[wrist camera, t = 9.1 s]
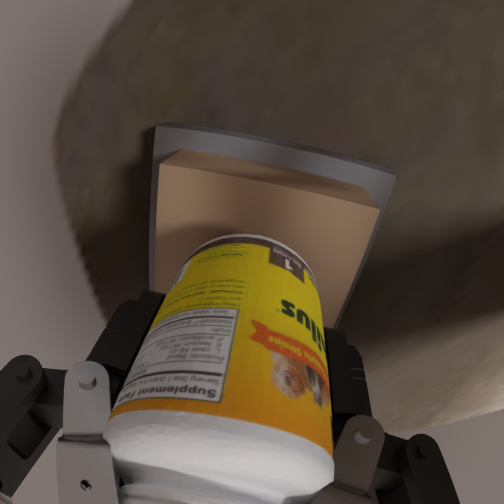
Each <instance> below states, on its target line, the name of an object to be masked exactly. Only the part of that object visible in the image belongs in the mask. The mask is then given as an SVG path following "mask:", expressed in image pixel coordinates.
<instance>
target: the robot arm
mask: <svg viewBox="0 0 504 504" xmlns="http://www.w3.org/2000/svg"><path fill="white" fill-rule="evenodd" d="M165 297H166V294H164V293H160V292H156V291H152V290H148V289H145V290H144V291H143V293H142V295H141V296H140V298H139V300H138V301H133V300H128V301H126V302H125V303H123V304H122V305H120V306H119V307H118V308H117V310H116V311H115V313H114V314H113V316H112V319H110V321H109V322H108V324H107V327H106V328H105V329H104V331H103V332H102V334H101V336H100V337H99V339H98V341H97V342H96V344H95V346H94V347H93V349H92V351H91V353H90V354H89V356H88V358H87V359H86V360H85V361H82V362H78V363H76V364H74V365H73V366H72V367H70V368H69V369H68V370H58V369H47V368H42V366H41V364H40V362H39V361H38V360H37V359H36V358H34V357H32V356H30V355H20V356H17V357H15V358H13V359H12V360H11V361H10V362H9V363H8V364H7V365H6V366H5V367H4V368H3V369H2V370H1V371H0V504H13V502H12V500H11V497H12V496H13V494H14V493H15V491H16V490H17V488H18V487H19V486H20V484H21V483H22V481H23V480H24V478H25V477H26V475H27V474H28V473H29V471H30V470H31V468H32V467H33V466H34V464H35V463H36V461H37V460H38V459H39V457H40V456H41V454H42V453H43V451H44V450H45V449H46V447H47V446H48V445H49V443H50V442H51V441H52V439H53V438H54V436H55V435H56V434H57V432H58V431H59V430H60V428H63V435H62V437H59V438H58V440H57V445H56V459H57V479H58V493H59V502H60V504H121V494H120V488H121V487H122V486H123V485H128V483H127V481H126V480H125V478H124V477H123V475H122V473H121V471H120V470H119V468H118V466H117V464H116V462H115V459H114V456H113V453H112V449H111V445H110V444H109V443H108V441H107V440H106V439H105V438H103V433H104V430H105V427H106V424H107V421H108V419H109V417H110V415H111V413H112V410H113V408H114V406H115V403H116V401H117V399H118V396H119V393H120V392H121V390H122V388H123V385H124V383H125V381H126V379H127V377H128V375H129V372H130V370H131V368H132V366H133V364H134V361H135V359H136V357H137V355H138V353H139V351H140V349H141V347H142V344H143V342H144V340H145V338H146V336H147V334H148V332H149V330H150V328H151V326H152V324H153V322H154V320H155V318H156V316H157V314H158V312H159V310H160V308H161V306H162V304H163V302H164V300H165ZM323 330H324V339H325V349H326V358H327V368H328V378H329V384H330V387H329V390H330V400H331V413H332V429H333V445H334V464H335V467H334V481H333V482H330V483H329V484H328V485H326V486H324V487H323V488H322V489H321V490H320V491H319V492H318V493H317V495H316V496H314V497H313V498H312V499H311V500H310V501H308V502H307V503H305V504H460V502H459V499H458V497H457V493H456V491H455V488H454V485H453V482H452V479H451V477H450V474H449V471H448V469H447V466H446V464H445V461H444V458H443V456H442V453H441V451H440V449H439V446H438V444H437V443H436V441H435V440H434V439H433V438H432V437H430V436H428V435H426V434H416V435H414V436H412V437H411V438H410V439H409V440H405V439H402V438H399V437H396V436H393V435H390V434H387V433H385V432H384V430H383V427H382V426H381V424H380V423H379V422H378V421H377V420H375V419H374V418H373V417H372V412H371V406H370V400H369V394H368V389H367V383H366V381H365V372H364V371H363V369H364V367H363V362H362V357H361V355H360V354H359V352H358V351H357V349H356V348H355V346H353V345H347V343H346V337H345V332H344V330H341V329H335V328H329V327H323Z"/></svg>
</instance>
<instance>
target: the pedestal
mask: <svg viewBox="0 0 504 504" xmlns="http://www.w3.org/2000/svg"><path fill="white" fill-rule="evenodd" d="M396 177H397V176H396V175H395V174H394V173H393V172H392V171H391V170H389V169H388V168H386V167H383V166H379V165H376V164H373V163H369V162H366V161H362V160H359V159H355V158H352V157H348V156H344V155H341V154H337V153H333V152H329V151H325V150H321V149H317V148H313V147H309V146H304V145H300V144H295V143H291V142H286V141H282V140H277V139H272V138H267V137H262V136H257V135H251V134H246V133H240V132H234V131H228V130H222V129H216V128H209V127H202V126H195V125H187V124H179V123H171V122H165V123H162V124H159V125H157V126H156V129H155V139H154V150H153V163H152V178H151V196H150V222H149V290H152V291H156V292H160V293H164V294H166V296H167V294H168V292H169V290H170V288H171V286H172V284H173V282H174V280H175V278H176V276H177V274H178V273H179V271H180V269H181V267H182V265H183V264H184V262H185V261H186V260H187V258H188V257H189V256H190V255H191V254H192V253H193V252H194V251H195V250H196V249H197V248H199V247H200V246H202V245H203V244H205V243H207V242H209V241H211V240H213V239H216V238H218V237H222V236H226V235H232V234H254V235H260V236H265V237H268V238H271V239H274V240H276V241H278V242H281V243H282V244H284V245H286V246H287V247H289V248H290V249H292V250H293V251H294V252H296V253H297V254H298V255H299V256H300V257H301V258H302V259H303V260H304V261H305V262H306V264H307V265H308V266H309V268H310V270H311V271H312V273H313V275H314V278H315V280H316V283H317V287H318V292H319V299H320V305H321V313H322V322H323V327H329V328H335V329H337V327H338V324H339V322H340V320H341V318H342V316H343V314H344V311H345V309H346V307H347V305H348V303H349V300H350V298H351V296H352V293H353V291H354V289H355V287H356V284H357V282H358V279H359V277H360V275H361V272H362V270H363V267H364V265H365V262H366V260H367V257H368V255H369V252H370V250H371V247H372V245H373V242H374V240H375V237H376V234H377V232H378V229H379V226H380V223H381V221H382V218H383V215H384V212H385V209H386V207H387V204H388V201H389V198H390V195H391V192H392V189H393V186H394V183H395V180H396Z"/></svg>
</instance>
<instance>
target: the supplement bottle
mask: <svg viewBox="0 0 504 504" xmlns="http://www.w3.org/2000/svg"><path fill="white" fill-rule="evenodd" d="M329 387H330V384H329V378H328V368H327V358H326V349H325V339H324V330H323V322H322V313H321V305H320V299H319V292H318V287H317V283H316V280H315V278H314V275H313V273H312V271H311V270H310V268H309V266H308V265H307V264H306V262H305V261H304V260H303V259H302V258H301V257H300V256H299V255H298V254H297V253H296V252H294V251H293V250H292V249H290V248H289V247H287V246H286V245H284V244H282V243H281V242H278V241H276V240H274V239H271V238H268V237H265V236H260V235H254V234H232V235H226V236H222V237H218V238H216V239H213V240H211V241H209V242H207V243H205V244H203V245H202V246H200V247H199V248H197V249H196V250H195V251H194V252H193V253H192V254H191V255H190V256H189V257H188V258H187V260H186V261H185V262H184V264H183V265H182V267H181V269H180V271H179V273H178V274H177V276H176V278H175V280H174V282H173V284H172V286H171V288H170V290H169V292H168V294H167V296H166V297H165V300H164V302H163V304H162V306H161V308H160V310H159V312H158V314H157V316H156V318H155V320H154V322H153V324H152V326H151V328H150V330H149V332H148V334H147V336H146V338H145V340H144V342H143V344H142V347H141V349H140V351H139V353H138V355H137V357H136V359H135V361H134V364H133V366H132V368H131V370H130V372H129V375H128V377H127V379H126V381H125V383H124V385H123V388H122V390H121V392H120V393H119V396H118V399H117V401H116V403H115V406H114V408H113V410H112V413H111V415H110V417H109V419H108V421H107V424H106V427H105V430H104V433H103V438H105V439H106V440H107V441H108V443H109V444H110V445H111V449H112V453H113V456H114V459H115V462H116V464H117V466H118V468H119V470H120V471H121V473H122V475H123V477H124V478H125V480H126V481H127V483H128V485H123V486H122V487H121V488H120V494H121V504H305V503H307V502H308V501H310V500H311V499H312V498H313V497H314V496H316V495H317V493H318V492H319V491H320V490H321V489H322V488H323V487H324V486H326V485H328V484H329V483H330V482H333V481H334V467H335V464H334V445H333V429H332V413H331V400H330V390H329Z"/></svg>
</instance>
